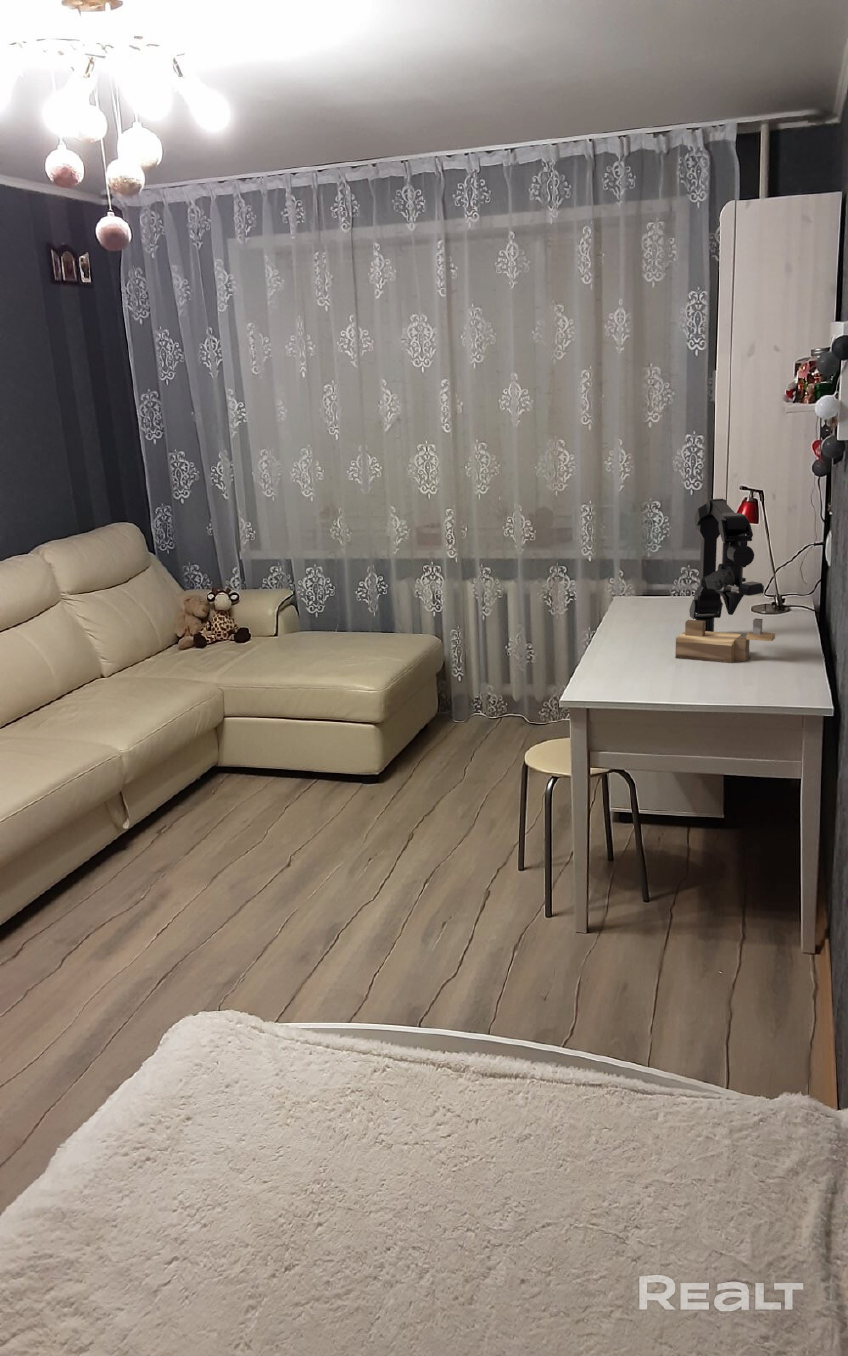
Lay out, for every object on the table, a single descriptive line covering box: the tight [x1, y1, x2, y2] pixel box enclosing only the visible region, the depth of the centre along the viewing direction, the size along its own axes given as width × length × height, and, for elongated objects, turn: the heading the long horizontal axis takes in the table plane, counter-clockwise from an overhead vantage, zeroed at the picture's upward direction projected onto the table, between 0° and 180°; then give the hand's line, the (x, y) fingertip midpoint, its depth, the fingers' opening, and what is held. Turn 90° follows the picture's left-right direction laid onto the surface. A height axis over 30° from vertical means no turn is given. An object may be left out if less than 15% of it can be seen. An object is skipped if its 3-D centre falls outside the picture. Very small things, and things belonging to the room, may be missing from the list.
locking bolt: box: [746, 617, 776, 642], centre depth 296 cm, size 4×7×6 cm, turn 60°
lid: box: [675, 619, 743, 646], centre depth 304 cm, size 11×16×5 cm
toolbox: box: [674, 635, 751, 664], centre depth 305 cm, size 11×19×6 cm, turn 60°
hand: (730, 614), depth 300 cm, fingers closed
